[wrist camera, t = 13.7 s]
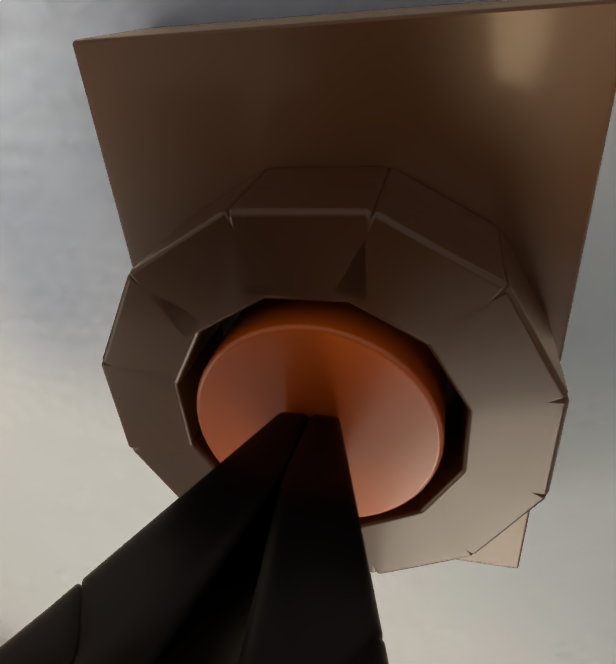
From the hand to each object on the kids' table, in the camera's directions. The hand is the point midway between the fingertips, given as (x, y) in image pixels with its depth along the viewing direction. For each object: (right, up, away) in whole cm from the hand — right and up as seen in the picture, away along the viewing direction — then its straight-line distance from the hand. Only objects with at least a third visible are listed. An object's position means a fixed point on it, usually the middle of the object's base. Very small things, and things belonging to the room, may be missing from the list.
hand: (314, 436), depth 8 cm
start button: (0, +1, +1) cm, 2 cm away
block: (+1, +2, +3) cm, 4 cm away
